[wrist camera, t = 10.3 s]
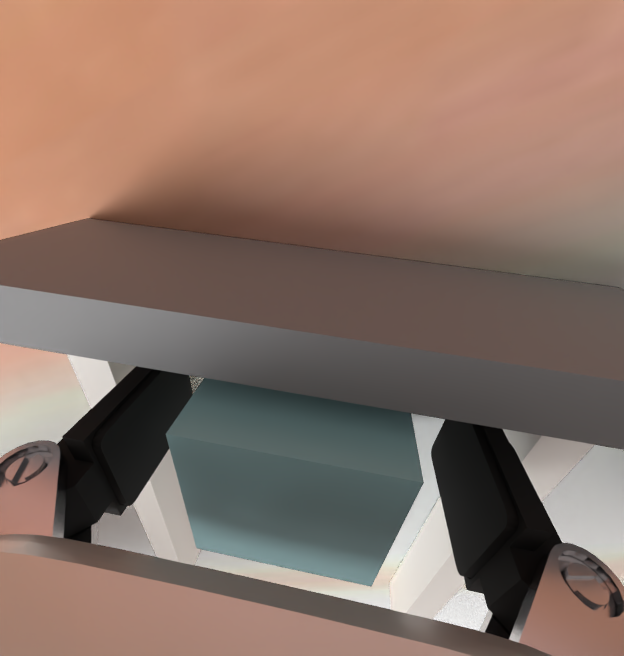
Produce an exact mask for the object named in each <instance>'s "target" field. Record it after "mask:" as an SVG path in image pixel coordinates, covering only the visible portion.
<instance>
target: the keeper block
mask: <svg viewBox="0 0 624 656" xmlns="http://www.w3.org/2000/svg"><path fill="white" fill-rule="evenodd" d="M166 437H167V441H168V445H169V448H170V452H171V456H172V459H173V463H174V467H175V471H176V474H177V478H178V482H179V485H180V489H181V493H182V496H183V500H184V504H185V508H186V511H187V515H188V519H189V522H190V526H191V530H192V533H193V537H194V541H195V545H196V548H198V549H202V550H207V551H211V552H216V553H221V554H225V555H230V556H234V557H239V558H243V559H248V560H253V561H257V562H262V563H266V564H271V565H276V566H280V567H285V568H289V569H294V570H298V571H303V572H308V573H312V574H317V575H321V576H326V577H330V578H335V579H340V580H344V581H349V582H353V583H358V584H362V585H367V586H372V584H373V582H374V580H375V578H376V576H377V574H378V572H379V570H380V568H381V566H382V564H383V562H384V560H385V558H386V556H387V554H388V552H389V550H390V548H391V546H392V544H393V542H394V540H395V538H396V536H397V534H398V532H399V530H400V528H401V526H402V524H403V522H404V520H405V518H406V516H407V514H408V512H409V510H410V508H411V506H412V504H413V502H414V500H415V498H416V497H417V495H418V493H419V491H420V489H421V487H422V485H423V483H424V482H423V477H422V471H421V466H420V460H419V455H418V450H417V444H416V439H415V433H414V428H413V422H412V417H411V413H407V412H401V411H395V410H389V409H384V408H378V407H372V406H366V405H360V404H354V403H349V402H343V401H337V400H331V399H325V398H319V397H313V396H308V395H302V394H296V393H290V392H284V391H278V390H272V389H267V388H261V387H255V386H249V385H243V384H237V383H231V382H226V381H220V380H214V379H208V378H204V379H203V381H202V382H201V384H200V385H199V387H198V388H197V389H196V391H195V392H194V394H193V395H192V397H191V398H190V400H189V401H188V402H187V404H186V405H185V407H184V408H183V410H182V411H181V413H180V414H179V415H178V417H177V418H176V420H175V421H174V423H173V424H172V426H171V427H170V428H169V430H168V431H167V433H166Z"/></svg>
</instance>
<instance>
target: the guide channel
mask: <svg viewBox="0 0 624 656" xmlns="http://www.w3.org/2000/svg"><path fill="white" fill-rule="evenodd" d="M0 343H3V344H9V345H15V346H21V347H27V348H33V349H38V350H44V351H50V352H56V353H62V354H67V356H68V358H69V361H70V363H71V365H72V367H73V370H74V372H75V374H76V376H77V379H78V381H79V383H80V385H81V388H82V390H83V392H84V394H85V397H86V399H87V401H88V404H89V406H90V408H91V409H92V408H93V407H94V406H95V405H96V404H97V403H98V402H99V401H100V400H101V399H102V398H103V397H104V396H105V395H107V394H108V393H109V392H110V391H111V390H112V389H113V388H114V387H115V386H116V385H117V384H118V383H119V382H120V381H121V380H122V379H123V378H124V377H125V376H126V375H127V374H128V373H130V372H131V371H132V370H133V369H134V368H135V367H136V366H138V367H144V368H150V369H155V370H161V371H167V372H173V373H179V374H185V375H191V376H196V377H202V378H208V379H214V380H220V381H226V382H231V383H237V384H243V385H249V386H255V387H261V388H267V389H272V390H278V391H284V392H290V393H296V394H302V395H308V396H313V397H319V398H325V399H331V400H337V401H343V402H349V403H354V404H360V405H366V406H372V407H378V408H384V409H389V410H395V411H401V412H407V413H413V414H419V415H425V416H430V417H436V418H442V419H448V420H454V421H460V422H466V423H471V424H477V425H483V426H489V427H495V428H501V429H503V431H504V433H505V435H506V437H507V439H508V441H509V443H510V444H511V445H512V446H513V448H514V449H515V451H516V453H517V455H518V457H519V459H520V461H521V463H522V465H523V467H524V469H525V471H526V473H527V475H528V477H529V479H530V481H531V483H532V485H533V487H534V488H535V490H536V492H537V494H538V496H539V498H540V500H541V502H542V501H543V500H544V499H545V498H546V497H547V496H548V494H549V493H550V492H551V491H552V490H553V489H554V488H555V487H556V486H557V485H558V484H559V483H560V482H561V481H562V479H563V478H564V477H565V476H566V475H567V474H568V473H569V472H570V471H571V470H572V469H573V468H574V467H575V466H576V465H577V463H578V462H579V461H580V460H581V459H582V458H583V457H584V456H585V455H586V454H587V453H588V452H589V451H590V450H591V448H592V447H593V446H594V445H600V446H606V447H612V448H618V449H624V290H622V289H620V288H619V287H611V286H603V285H596V284H588V283H580V282H573V281H565V280H557V279H550V278H542V277H534V276H527V275H519V274H511V273H504V272H496V271H488V270H481V269H473V268H465V267H458V266H450V265H442V264H435V263H427V262H419V261H412V260H404V259H396V258H389V257H381V256H373V255H366V254H358V253H350V252H343V251H335V250H327V249H320V248H312V247H304V246H297V245H289V244H281V243H274V242H266V241H258V240H251V239H243V238H235V237H228V236H220V235H212V234H205V233H197V232H189V231H182V230H174V229H166V228H159V227H151V226H143V225H136V224H128V223H120V222H113V221H105V220H97V219H90V218H87V219H83V220H79V221H75V222H71V223H67V224H63V225H59V226H55V227H51V228H47V229H43V230H39V231H35V232H31V233H27V234H23V235H19V236H14V237H10V238H6V239H2V240H0ZM133 505H134V507H135V510H136V512H137V514H138V516H139V519H140V521H141V523H142V526H143V528H144V530H145V532H146V535H147V537H148V539H149V541H150V544H151V546H152V548H153V550H154V553H155V555H156V557H158V558H163V559H167V560H172V561H176V562H181V563H186V564H190V565H195V563H196V561H197V558H198V556H199V554H200V551H201V549H198V548H196V545H195V541H194V537H193V533H192V530H191V526H190V522H189V519H188V515H187V511H186V508H185V504H184V500H183V496H182V493H181V489H180V485H179V482H178V478H177V474H176V471H175V467H174V463H173V459H172V456H171V452H170V448H169V450H168V451H167V453H166V455H165V456H164V458H163V459H162V461H161V462H160V464H159V465H158V467H157V469H156V470H155V472H154V473H153V475H152V476H151V478H150V479H149V481H148V482H147V484H146V486H145V487H144V489H143V490H142V492H141V493H140V495H139V496H138V498H137V499H136V501H135V502H134V503H133ZM464 584H465V580H464V576H461V575H460V574H459V573H458V571H457V568H456V564H455V559H454V555H453V551H452V546H451V542H450V537H449V533H448V528H447V524H446V519H445V515H444V510H443V506H442V501H441V497H439V499H438V500H437V502H436V504H435V506H434V507H433V509H432V511H431V512H430V514H429V516H428V518H427V519H426V521H425V523H424V524H423V526H422V528H421V530H420V531H419V533H418V535H417V536H416V538H415V540H414V542H413V543H412V545H411V547H410V549H409V550H408V552H407V554H406V555H405V557H404V559H403V561H402V562H401V564H400V566H399V567H398V569H397V571H396V573H395V574H394V576H393V578H392V579H391V581H390V583H389V588H390V604H391V610H394V611H399V612H403V613H407V614H412V615H416V616H420V617H425V618H429V619H433V618H434V617H435V615H436V614H437V613H438V612H439V611H440V610H441V609H442V608H443V607H444V606H445V605H446V604H447V603H448V602H449V600H450V599H451V598H452V597H453V596H454V595H455V594H456V593H457V592H458V591H459V590H460V589H461V588H462V587H463V585H464Z"/></svg>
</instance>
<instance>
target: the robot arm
mask: <svg viewBox="0 0 624 656" xmlns="http://www.w3.org/2000/svg"><path fill="white" fill-rule="evenodd" d="M192 395H193V394H192V388H191V383H190V377H189V375H185V374H179V373H173V372H167V371H161V370H155V369H150V368H144V367H138V366H136V367H135V368H134V369H133V370H132V371H131V372H130V373H128V374H127V375H126V376H125V377H124V378H123V379H122V380H121V381H120V382H119V383H118V384H117V385H116V386H115V387H114V388H113V389H112V390H111V391H110V392H109V393H108V394H107V395H105V396H104V397H103V398H102V399H101V400H100V401H99V402H98V403H97V404H96V405H95V406H94V407H93V408H92V409H91V410H90V411H89V412H88V413H87V414H86V415H85V416H83V417H82V418H81V419H80V420H79V421H78V422H77V423H76V424H75V425H74V426H73V427H72V428H71V429H70V430H69V431H68V432H67V433H66V434H65V435H64V436H63V439H62V440H61V441H60V442H59V443H58V444H56V443H54V442H51V441H35V442H31V443H27V444H25V445H22V446H19V447H17V448H15V449H13V450H12V451H10V452H8V453H6V454H5V455H3V456H2V457H1V458H0V656H624V586H623V585H622V583H621V582H620V580H619V579H618V578H617V576H616V575H615V574H614V573H613V572H612V571H611V570H610V569H609V567H608V566H607V565H605V564H604V563H603V562H602V561H601V560H599V559H598V558H597V557H596V556H595V555H593V554H591V553H590V552H588V551H587V550H585V549H583V548H581V547H578V546H576V545H573V544H568V543H562V542H561V540H560V538H559V536H558V534H557V532H556V530H555V528H554V526H553V524H552V522H551V520H550V518H549V516H548V514H547V512H546V510H545V508H544V506H543V504H542V502H541V500H540V498H539V496H538V494H537V492H536V490H535V488H534V487H533V485H532V483H531V481H530V479H529V477H528V475H527V473H526V471H525V469H524V467H523V465H522V463H521V461H520V459H519V457H518V455H517V453H516V451H515V449H514V448H513V446H512V445H511V444H510V443H509V441H508V439H507V437H506V435H505V433H504V431H503V429H501V428H495V427H489V426H483V425H477V424H471V423H466V422H460V421H454V420H448V419H445V421H444V423H443V425H442V428H441V430H440V432H439V434H438V436H437V438H436V440H435V442H434V444H433V447H432V451H431V456H432V461H433V466H434V470H435V475H436V479H437V484H438V488H439V493H440V497H441V501H442V506H443V510H444V515H445V519H446V524H447V528H448V533H449V537H450V542H451V546H452V551H453V555H454V559H455V564H456V568H457V571H458V573H459V574H460V575H461V576H464V580H465V584H466V588H467V590H470V591H474V592H479V593H484V596H485V600H486V604H487V607H488V609H489V610H488V613H487V615H486V617H485V619H484V622H483V624H482V626H481V628H480V630H479V631H477V630H473V629H469V628H465V627H461V626H457V625H453V624H449V623H445V622H441V621H437V620H433V619H429V618H425V617H420V616H416V615H412V614H407V613H403V612H399V611H394V610H390V609H386V608H381V607H377V606H372V605H368V604H364V603H359V602H355V601H351V600H346V599H342V598H338V597H333V596H329V595H325V594H320V593H316V592H311V591H307V590H302V589H298V588H293V587H289V586H284V585H280V584H276V583H271V582H267V581H262V580H258V579H253V578H249V577H244V576H240V575H235V574H231V573H226V572H222V571H217V570H213V569H208V568H204V567H199V566H195V565H190V564H186V563H181V562H176V561H172V560H167V559H163V558H158V557H154V556H149V555H144V554H140V553H135V552H131V551H126V550H122V549H116V548H111V547H106V546H101V545H98V529H97V522H98V520H99V519H100V518H101V516H102V515H103V513H104V512H106V513H111V514H115V515H120V516H121V515H122V513H123V512H124V510H125V509H126V507H127V506H130V505H132V504H133V503H134V502H135V501H136V499H137V498H138V496H139V495H140V493H141V492H142V490H143V489H144V487H145V486H146V484H147V482H148V481H149V479H150V478H151V476H152V475H153V473H154V472H155V470H156V469H157V467H158V465H159V464H160V462H161V461H162V459H163V458H164V456H165V455H166V453H167V451H168V450H169V445H168V441H167V437H166V433H167V431H168V430H169V428H170V427H171V426H172V424H173V423H174V421H175V420H176V418H177V417H178V415H179V414H180V413H181V411H182V410H183V408H184V407H185V405H186V404H187V402H188V401H189V400H190V398H191V397H192Z"/></svg>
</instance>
